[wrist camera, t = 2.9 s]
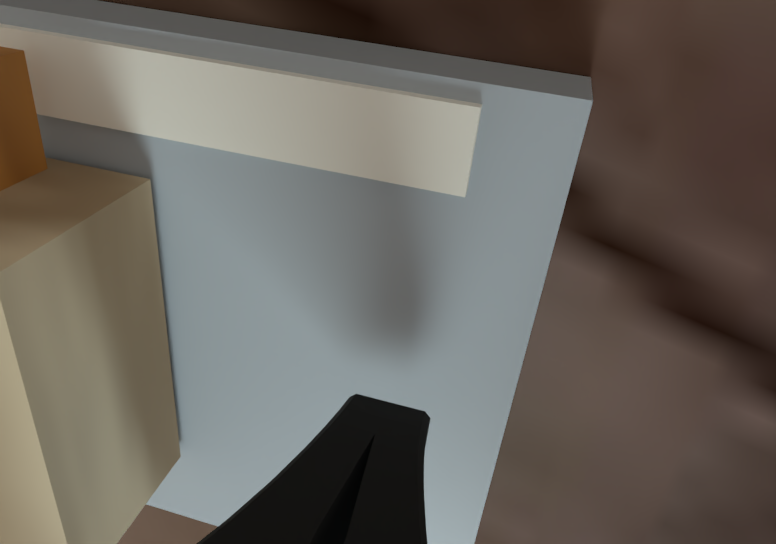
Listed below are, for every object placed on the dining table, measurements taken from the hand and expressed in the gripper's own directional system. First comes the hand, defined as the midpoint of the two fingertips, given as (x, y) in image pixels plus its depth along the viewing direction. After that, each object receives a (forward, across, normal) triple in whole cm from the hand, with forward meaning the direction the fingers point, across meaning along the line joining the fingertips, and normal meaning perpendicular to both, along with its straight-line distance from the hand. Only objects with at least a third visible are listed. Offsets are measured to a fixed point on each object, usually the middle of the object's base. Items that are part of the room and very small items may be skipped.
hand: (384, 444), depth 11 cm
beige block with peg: (+1, +7, -1) cm, 7 cm away
